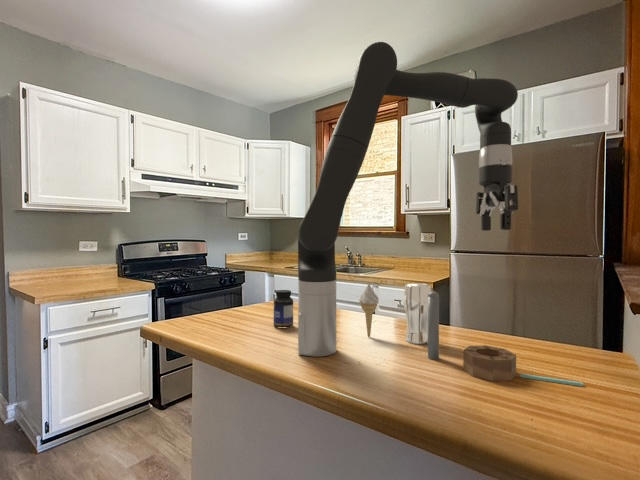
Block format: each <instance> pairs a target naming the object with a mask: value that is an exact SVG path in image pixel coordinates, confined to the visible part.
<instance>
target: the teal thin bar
mask: <svg viewBox="0 0 640 480" xmlns="http://www.w3.org/2000/svg"><path fill="white" fill-rule="evenodd" d="M519 376H520V378H522V379H524V378H525V379H530V380H538V381H542V382H550V383H557V384H562V385H563V384H565V385H571V386H577V387H584V382H581V381H574V380H567V379H562V378H561V379H560V378H555V377H548V376H540V375H534V374H533V375H532V374H526V373H520V374H519Z"/></svg>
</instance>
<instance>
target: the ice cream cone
mask: <svg viewBox="0 0 640 480" xmlns="http://www.w3.org/2000/svg"><path fill="white" fill-rule="evenodd" d="M358 301H359V303H360V308H361V309H362V311H363V312H364V314H365V325H366V333H367V337H368V338H370V337H371V331H372V323H373V313H374V312H375V311H376V310H377V306H378V304H379V302H380V301H379V297H378V295H377V294H376V293H375V290H373V288H372V287H371V284H370V283H368V284H367V286H366V287H365V289H364V290H363V292H362V293H361V295H360V297H359V298H358Z"/></svg>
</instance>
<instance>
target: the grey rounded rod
mask: <svg viewBox="0 0 640 480" xmlns="http://www.w3.org/2000/svg"><path fill="white" fill-rule="evenodd" d="M439 312H440V295H439V293H438V292H436V291H435V290H433V291H432V290H431V292H430V293H429V294H428V344H427V359H429V360H432V361H436V360H437V361H439V359H440V313H439Z"/></svg>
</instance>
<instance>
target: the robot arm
mask: <svg viewBox="0 0 640 480" xmlns="http://www.w3.org/2000/svg"><path fill="white" fill-rule="evenodd" d="M397 67H398V56H397V54H396V51H395V50H394V48H393V47H392V46H391V45H390V44H389V43H387V42H385V41H377V42H376V41H375V42H374V43H373V42H372V44H370V45H368V46H366V48H365V49H363V51H362V53H361V54H360V56H359V58H358V61H357V64H356V66H355V70H354V76H353V79H354V84H353V85H352V90H351V93H350V96H349V98H348V100H347V102H346V104H345V107H344V108H343V110H342V112H341V114H340V116H339V117H338V120H337V123H336V125H335V127H334V129H333V132H332V134H331V136H330V139H329V143H328V145H327V147H326V151H325V154H324V158H323V161H322V165H321V169H320V175H319V180H318V184H317V187H316V191H315V194H314V196H313V199H312V201H311V203H310V205H309V207H308V209H307V211H306V213H305V215H304V217H303V218H302V220H301V222H300V224H299V227H298V230H297V258H298V259H297V269H298V270H297V271H298V272H297V275H298V277H297V278H298V283H297V284H298V286H297V287H298V288H297V289H298V292H297V293H298V295H297V296H298V301H297V302H298V303H297V304H298V307H297V308H298V311H297V314H298V315H297V319H298V320H297V322H298V323H297V324H298V325H297V326H298V328H297V332H298V333H297V334H298V335H297V336H298V337H297V339H298V345H297V346H298V347H297V348H298V356H306V357H315V358H316V357H319V358H320V357H327V356H328V357H329V356H331V355H334V354H336V352H337V346H338V345H337V342H338V341H337V266H336V252H335V251H336V245H335V243H336V241H337V239H338V234H339V230H340V225H341V220H342V217H343V213H344V208H345V205H346V203H347V200H348V197H349V194H350V193H351V191H352V189H353V186H354V184H355V182H356V180H357V177H358V176H359V173H360V171H361V167H362V165H363V164H364V160H365V157H366V154H367V151H368V149H369V145H370V142H371V139H372V135H373V132H374V128H375V126H376V122H377V121H376V120H377V117H378V113H379V110H380V108H381V107H380V106H381V104H382V101H383V98H384V97H385V96H387V97H388V96H390V97H391V96H392V97H401V98H402V97H403V98H411V99H412V98H413V99H419V100H423V101H424V100H425V101H430V102H436V103H439V104H443V105H446V106H452V107H456V108H462V109H464V108H469V107H470V106H474V114H475V115H474V116H475V119H476V123H477V128H478V130H479V134H480V136H479V156H478V185H479V186H481V187H483V191H482V192H481V191H477V192H476V200H475V201H476V203H475V206H476V207H475V214H476V215H479V216H480V218H481V220H480V221H481V225H480V226H481V228H480V229H481V230H482V231H483V232H484V231H486V232H487V231H491V230H492V228H491V227H492V225H491V224H492V217H491V215H492V212H493V210H495V209H496V208H498V210H499V212H500V219H499V220H500V221H499V222H500V224H499V226H500V230H503V231H509V230H511V229H512V214H513V213H514V211H518V210H519V198H518V194H519V193H518V185H516V184H512V183H513V150H512V127H511V125H510V123H508V122H506V121H503V120H502V114H503V113H504V112H506V111H507V110H510V108H512V107H513V106H514V105H515V103H516V102H517V100H518V96H519V92H518V89H517V87H516V86H515V84H513V83H512V82H510V81H508V80H505V79H501V78H484V77H483V78H482V77H480V78H479V77H477V78H471V77H468V76H464V75H460V74H457V73H456V74H455V73H451V72H446V71H445V72H444V71H434V72H433V71H432V72H431V71H430V72H410V71H409V72H407V71H401V70H400V69H398V68H397Z"/></svg>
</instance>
